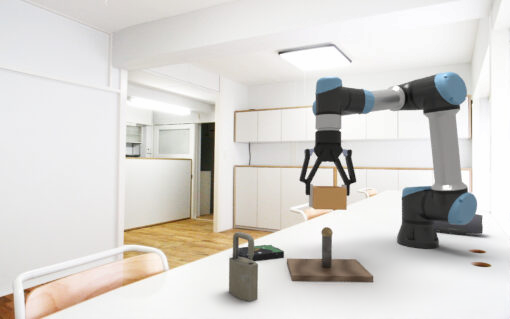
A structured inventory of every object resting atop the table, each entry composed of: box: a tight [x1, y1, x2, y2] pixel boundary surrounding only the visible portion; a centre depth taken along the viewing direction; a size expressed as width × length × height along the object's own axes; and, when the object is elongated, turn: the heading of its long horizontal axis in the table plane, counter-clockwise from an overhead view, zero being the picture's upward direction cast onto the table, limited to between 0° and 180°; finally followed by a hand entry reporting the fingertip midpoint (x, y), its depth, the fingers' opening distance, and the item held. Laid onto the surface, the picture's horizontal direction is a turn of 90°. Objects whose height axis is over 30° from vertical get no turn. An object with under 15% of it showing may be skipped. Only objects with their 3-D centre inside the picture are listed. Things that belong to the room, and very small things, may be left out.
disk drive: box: [238, 244, 285, 262], centre depth 115 cm, size 10×3×15 cm
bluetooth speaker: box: [434, 213, 484, 236], centre depth 157 cm, size 23×9×10 cm, turn 58°
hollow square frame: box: [311, 185, 348, 211], centre depth 99 cm, size 9×9×6 cm
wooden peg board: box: [286, 226, 374, 283], centre depth 99 cm, size 22×16×13 cm
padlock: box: [228, 231, 259, 302], centre depth 81 cm, size 4×8×15 cm, turn 40°
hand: (327, 206), depth 99 cm, fingers closed on hollow square frame, 9 cm apart
